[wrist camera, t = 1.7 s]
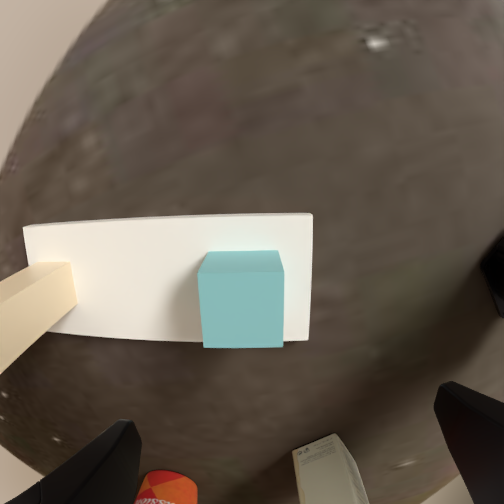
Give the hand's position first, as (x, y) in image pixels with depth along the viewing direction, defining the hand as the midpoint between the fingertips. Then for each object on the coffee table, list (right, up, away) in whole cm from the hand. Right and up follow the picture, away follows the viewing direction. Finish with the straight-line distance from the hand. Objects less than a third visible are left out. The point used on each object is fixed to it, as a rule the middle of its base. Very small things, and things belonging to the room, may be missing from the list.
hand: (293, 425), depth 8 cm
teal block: (-2, +3, +11) cm, 12 cm away
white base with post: (-7, +3, +12) cm, 15 cm away
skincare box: (+6, -14, +17) cm, 23 cm away
